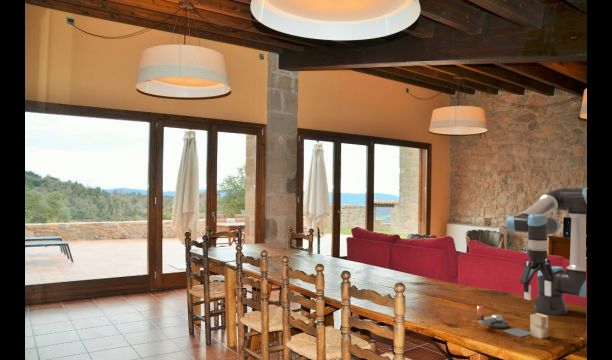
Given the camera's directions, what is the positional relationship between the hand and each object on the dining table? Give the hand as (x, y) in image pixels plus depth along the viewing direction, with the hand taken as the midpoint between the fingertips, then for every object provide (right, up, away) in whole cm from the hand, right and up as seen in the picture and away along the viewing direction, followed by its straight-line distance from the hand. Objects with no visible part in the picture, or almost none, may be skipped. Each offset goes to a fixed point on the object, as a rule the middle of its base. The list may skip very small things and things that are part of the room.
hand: (537, 297), depth 195 cm
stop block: (0, -17, 0) cm, 17 cm away
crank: (-17, -15, +11) cm, 25 cm away
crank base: (-12, -17, +14) cm, 25 cm away
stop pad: (-7, -17, +4) cm, 19 cm away
